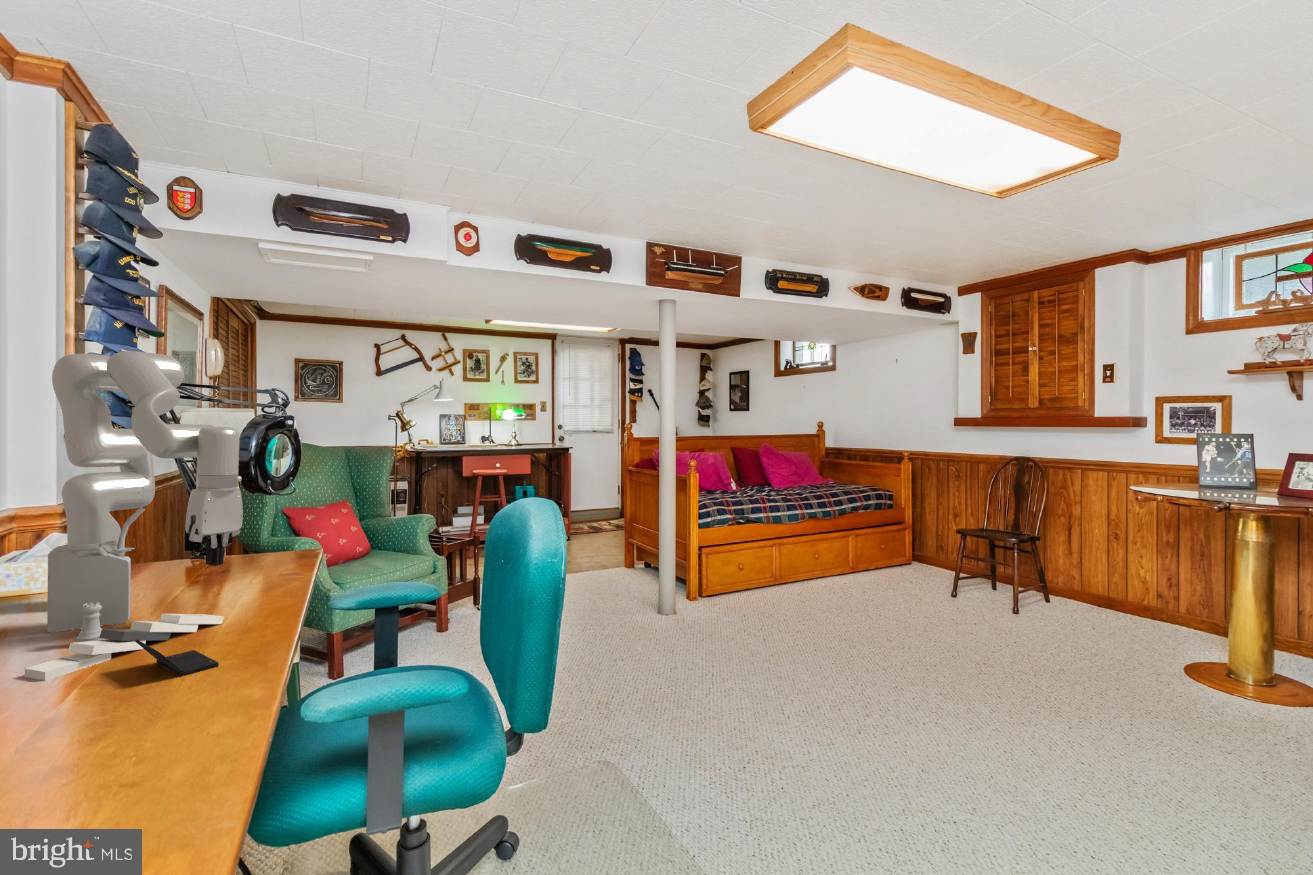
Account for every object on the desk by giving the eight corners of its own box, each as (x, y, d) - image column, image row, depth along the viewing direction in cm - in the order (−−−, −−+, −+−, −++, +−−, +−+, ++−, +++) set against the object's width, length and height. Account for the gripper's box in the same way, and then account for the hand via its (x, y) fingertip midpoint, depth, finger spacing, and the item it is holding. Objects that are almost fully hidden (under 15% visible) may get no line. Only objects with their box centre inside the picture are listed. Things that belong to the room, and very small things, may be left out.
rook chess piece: (87, 648, 118) (87, 607, 118) (69, 646, 119) (69, 605, 119) (111, 640, 123) (112, 601, 123) (94, 638, 124) (94, 599, 124)
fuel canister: (145, 615, 139) (146, 506, 139) (143, 620, 135) (144, 508, 135) (52, 627, 130) (52, 510, 130) (47, 633, 126) (48, 513, 126)
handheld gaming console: (230, 654, 113) (190, 620, 108) (199, 689, 108) (155, 656, 102) (194, 652, 118) (154, 620, 113) (161, 686, 112) (118, 654, 107)
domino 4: (180, 621, 130) (132, 620, 121) (198, 624, 129) (152, 623, 120) (177, 629, 130) (130, 629, 121) (196, 632, 129) (149, 631, 120)
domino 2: (123, 637, 120) (70, 642, 110) (146, 640, 119) (94, 645, 109) (121, 646, 119) (67, 652, 110) (143, 648, 119) (91, 654, 109)
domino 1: (91, 648, 115) (24, 668, 105) (111, 651, 113) (45, 671, 104) (91, 657, 115) (24, 677, 105) (111, 660, 113) (45, 681, 104)
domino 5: (206, 614, 136) (161, 613, 127) (223, 616, 135) (180, 615, 125) (204, 621, 135) (159, 621, 126) (221, 624, 134) (178, 623, 125)
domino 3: (168, 640, 124) (121, 640, 114) (147, 637, 124) (98, 638, 115) (171, 631, 124) (124, 631, 115) (150, 629, 125) (101, 629, 115)
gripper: (236, 478, 143) (233, 556, 144) (169, 483, 129) (166, 569, 129) (261, 481, 141) (258, 559, 142) (195, 486, 127) (192, 573, 127)
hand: (214, 564), depth 136 cm, fingers closed
